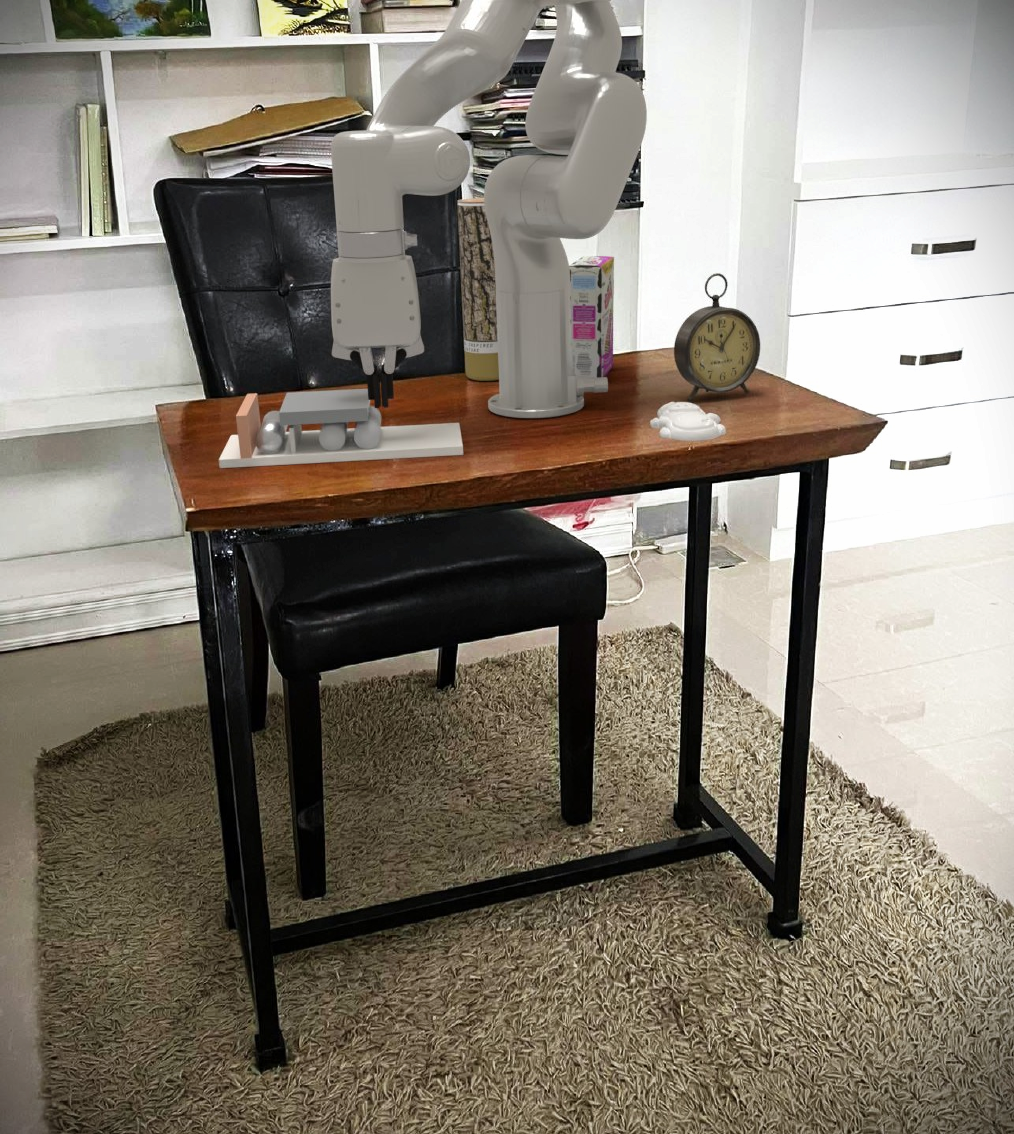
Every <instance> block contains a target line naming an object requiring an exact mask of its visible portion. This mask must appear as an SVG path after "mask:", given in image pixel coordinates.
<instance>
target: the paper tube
mask: <svg viewBox="0 0 1014 1134" xmlns="http://www.w3.org/2000/svg"><path fill="white" fill-rule="evenodd" d="M456 207H457V224H458V242H459V243H458V244H459V245H458V246H459V262H460V263H459V265H460V267H459V268H460V285H461V287H460V288H461V289H460V290H461V304H462V305H461V307H462V308H461V309H462V310H461V311H462V327H463V331H462V332H463V347H464V348H463V350H464V363H465V364H464V368H465V375H466V377H467V378H468V379H470V380H472V381H480V382H489V381H490V382H491V381H492V382H494V381H499V364H498V339H497V313H496V283H495V264H494V253H493V245H492V239H491V234H490V229H489V225H488V221H487V216H486V212H485V205H484V197H475V198H473V197H472V198H464V199H458V200H457V206H456Z"/></svg>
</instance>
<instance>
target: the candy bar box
mask: <svg viewBox="0 0 1014 1134" xmlns="http://www.w3.org/2000/svg"><path fill="white" fill-rule="evenodd" d="M614 267H615V257H614V256H606V255H605V256H604V255H589V256H585V255H584V256H582V257H580V258H579V259H578V260H575V261H573V263H571V264H569V269H570V318H571V367H572V369H573V371H574V372H575V374H576V375H578V377H580V376H583V377H586V376H595V377H596V378H600V377H607V375H608V373H609V372H610V371H611V370H612V368H613V367H614V303H615V302H614V294H615V292H614V290H615V289H614V288H615V286H614V285H615V280H614V279H615V272H614V271H615V268H614ZM612 366H613V367H612Z"/></svg>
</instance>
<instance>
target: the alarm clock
mask: <svg viewBox="0 0 1014 1134" xmlns="http://www.w3.org/2000/svg"><path fill="white" fill-rule="evenodd" d="M714 277H720V278H722V279H723V280H724V281H723V282H724V290H723V292H722V294H720V295H718V294H714V295H712V296H711V294H709V292H708V284H709V282H710V280H711V279H713V278H714ZM727 289H728V279H727V278H726V277H725V275H724V274H722V273H717V272H716V273H713V274H711V275H710V276H709V277H708V278H707V279H706V281H705V283H704V291H705V294H706V295H707V297H708V298H709V299H711V300H712V305H711V306H706V307H705V306H704V307H701V308H699V309H697V310H696V311H694V312H693V313H691V314H690V315H689V316H688V317H687V318H686V319H685V320H684V321H683V322H682V324H681V326H680V327H679V329H678V331H677V333H676V336H675V340H674V344H673V345H674V346H673V357H674V362H675V366H676V368H677V371H678V372H679V374H680V376H681V377H682V378H683V380H685V381H686V382H687V383H689V384H690V385H692V386H693V389H692V391H691V393H690V395H689V397H688V398H687V402H688V403H692V402H693V398H694V397H695V396H696V395H697V394H698V392H699V390H701V389H703V390H705V393H709V392H712V393H716V394H719V393H720V394H721V393H726V392H731V391H733V390H736V389H737V388H739V387H740V388H741V389H742V390H743V391H744V393H745V394H747V395H748V394H749V393H750V390H749V389H748V388H747V387H746V384H745V382H747V380H749V378H750V377H751V376H752V374H754V373H753V372H754V371H755V369H756V367H757V365H758V362H759V359H760V354H761V338H760V333H759V330H758V328H757V326H756V324H755V322H754V321H753V319H752V318H750V317H749V316H748V315H747V314H746V313H745V312H744V311H741V310H739V309H737V308H733V307H727V306H726V307H725V306H720V298H723V296H724V295H725V294H726V293H727Z"/></svg>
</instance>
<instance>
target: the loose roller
mask: <svg viewBox="0 0 1014 1134" xmlns="http://www.w3.org/2000/svg"><path fill="white" fill-rule="evenodd" d="M279 411H280V410H271V411H268V412H267V413H266V414H265V415H264V417H263V419H262V421H261V423H260V424H261V426H260V429H259V431H258V434H257V437H256V440H255V443H256V447H257V448H258V450H259V451H260V452H262V453H263V454H267V455H272V454H275V453H277V452H278V451H279V450H280V448H281V446H282V442H283V439H284V436H285V433H286V432H287V429H288V426H289V425H281V426H280V418H279Z"/></svg>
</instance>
